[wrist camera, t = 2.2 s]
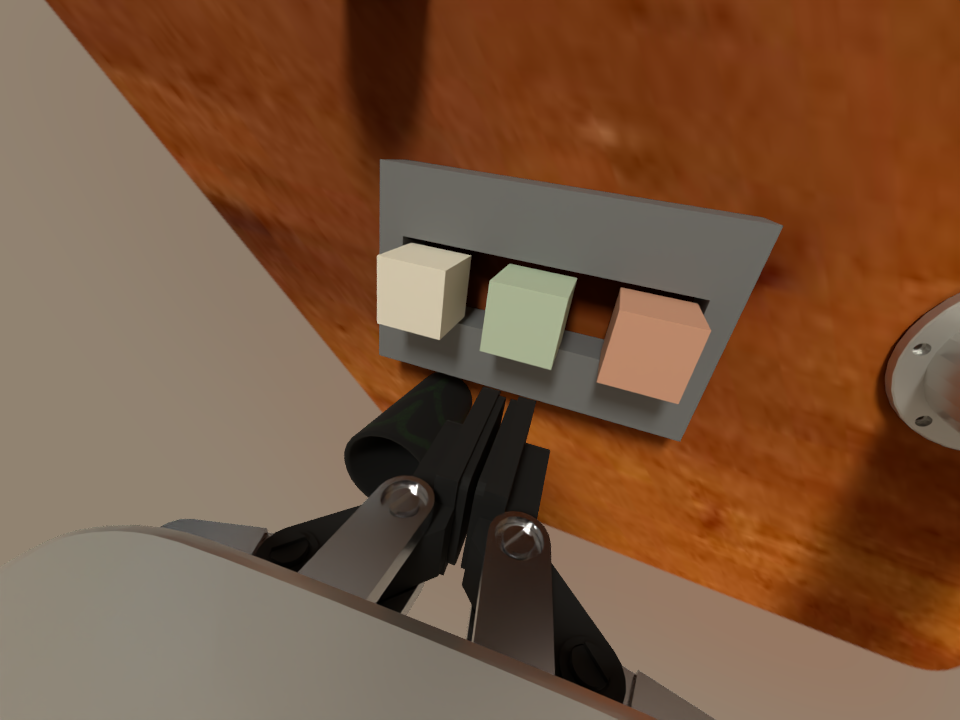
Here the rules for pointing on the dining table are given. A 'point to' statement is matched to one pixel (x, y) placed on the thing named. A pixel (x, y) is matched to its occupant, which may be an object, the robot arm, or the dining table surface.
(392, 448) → the cup
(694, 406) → the console
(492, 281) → the green button
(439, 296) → the cream button
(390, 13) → the dining table surface
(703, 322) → the terracotta button
